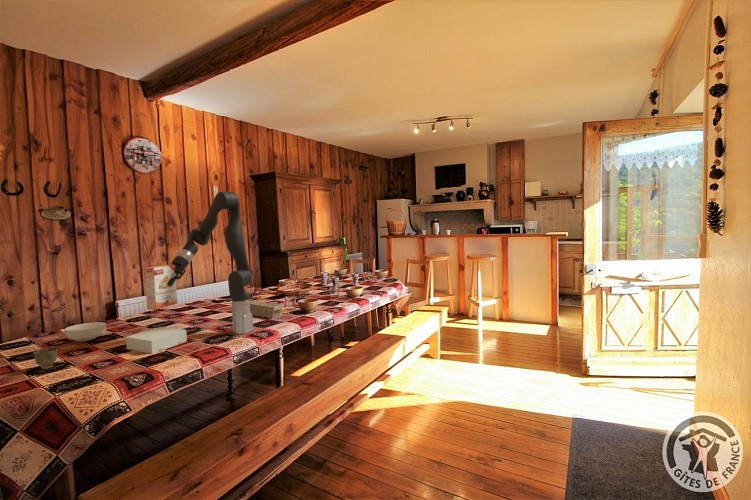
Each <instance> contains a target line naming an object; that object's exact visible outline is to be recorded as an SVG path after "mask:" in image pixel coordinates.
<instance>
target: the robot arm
mask: <svg viewBox="0 0 751 500" xmlns="http://www.w3.org/2000/svg"><path fill="white" fill-rule="evenodd" d="M240 203H241V202H240V198H239V195H238V194H237V193H236V192H235V191H219V192H217V193H216V194H215V196H214V197H213V200H212V203H211V205H210V207H209V209H208V211H207V213H206V215H205V217H204V219H203V220H202V222H201V223H200V224H199V226H198V228H192V229H191V231H189V234H188V237H187V241H186V243H185V244H184V245H183V247H182V248H181V250H180V251H179V252H178V253H177V254H176V255H175V257H174V258H173V260H172V261H171V264H170V265H175V270H174V272H173V273H172V278H171V279H170V280H169V282H168V283H167V284H168V285H169V286H172V284H173V283H174V282H175V280H176V281H177V280H180V279H182V277H183V276H184V274H185V273H186V272H187V270H186V269H187V268H188V266H189V264H190V263H191V262H192V260H193V258H194V257H195V255H196V254H197V252H198V251H199V245H200V246H206V245H207V244H208V243H209V241H210V238H211V233H212V232H213V231H214V230H215V228H216V227H217V225H218V222H219V213H220V212H222V210H228V212H229V220H228V224H227V225H226V229H225V230H224V231H225V232H224V241H225V245H226V248H227V250H228V252H229V254H230V255H231V257H232V258H233V260H234V262H235V267H236V270H233V271H232V272H230V273H229V275H228V277H227V281H228V283H227V284H228V292H229V296H230V299H231V313H232V314H231V316H232V331H233V334H235V335H241V334H247V333H250V332H253V331H254V323H253V315H252V313H251V311H250V301H251V298H250V297H251V296H250V294H249V293H247V292H246V291H245V287H247V286H249V285H250V284H251V282H252V280H253V278H252V272H251V269H250V265H249V262H248V261H249V260H248V257H247V249H246V246H245V238H244V233H243V232H244V231H243V228H242V227H243V226H242V219H241V204H240ZM197 244H198V245H197Z"/></svg>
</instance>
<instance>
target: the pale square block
mask: <svg viewBox="0 0 751 500" xmlns="http://www.w3.org/2000/svg"><path fill="white" fill-rule="evenodd" d="M187 336H188V335H187V329H182V328H174V327H166V326H159V327H155V328H152V329H148V330H146V331H142V332H139V333H135V334H132V335H129V336H126V337H125V344H126V350H130V351H135V352H140V353H141V352H142V353H146V354H152V355H153V354H156V353H158V352H162V351H163V350H167V349H169V348H172V347H175V346H178V345H181V344H184V343H186V342H188V337H187Z"/></svg>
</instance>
